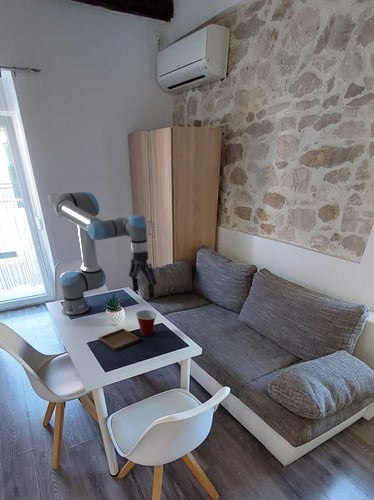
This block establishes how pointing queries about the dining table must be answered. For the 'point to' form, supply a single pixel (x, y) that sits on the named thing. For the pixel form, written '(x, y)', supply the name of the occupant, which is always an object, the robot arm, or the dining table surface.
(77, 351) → the dining table surface
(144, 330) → the plastic cup
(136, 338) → the tray
